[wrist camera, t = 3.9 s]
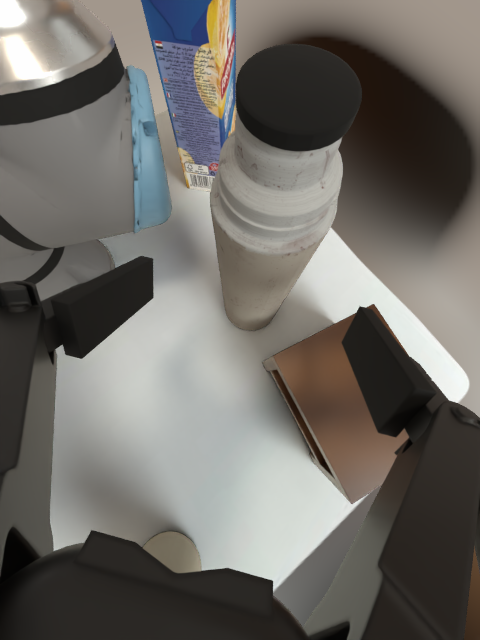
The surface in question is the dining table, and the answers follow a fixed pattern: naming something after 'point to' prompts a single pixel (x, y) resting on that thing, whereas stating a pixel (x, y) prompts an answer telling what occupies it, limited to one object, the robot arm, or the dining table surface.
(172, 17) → the beverage box
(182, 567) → the travel mug
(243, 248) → the thermos bottle
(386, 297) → the dining table surface
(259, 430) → the dining table surface
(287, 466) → the dining table surface
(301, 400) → the box
